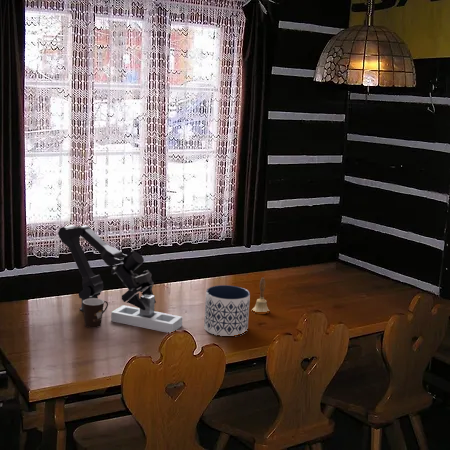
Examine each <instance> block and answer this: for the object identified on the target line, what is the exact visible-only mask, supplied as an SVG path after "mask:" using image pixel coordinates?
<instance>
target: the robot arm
mask: <svg viewBox="0 0 450 450" xmlns="http://www.w3.org/2000/svg"><path fill="white" fill-rule="evenodd" d="M58 229H59V230H58V233H57V234H58V237H59V239H60V241H61V242H62V243H63V245H65V246H67V247H68V249H69V251H70V253H71V255H72V258H73V260H74V262H75V265H76V267H77V269H78V271H79V273H80V276H81V277H82V281H81V285H82V288H83V289H81V291H79V292H78V298H79V299H80V300H81V307H80V308H79V310H80V311H81V312H83V313H84V309H83V301H84V300H85V299H90V298H97V299H99V298H98V297H99V296H100V295H101V294H102V291H103V290H104V288H105V287H104V281H103V280H102V278H101V275H100V274H97V275H96V274H95V273H94V272H93V269H92V267H91V265H90V264H89V261H88V259H87V256H86V254H85V253H84V250H83V247H82V246H81V243H80V241H81V240H80V239H81V238H83V239H84V240H85V242H87V243H88V244H89V245H90V246H91V247H92V248H94V249H95V250H96V251H97V252H98V253H99V254H100V256H101V259H102V261H103V262H104V263H105V264H106V265H107V266H108V267H112V268H111V271H110V272H111V273H110V275H112V276H114V275H115V274H116V276H117V277H118V278H119V279H120V280H121V282H122V283H121V285H122V287H124V286H125V287H126V288H127V290H126V292H125V293H123V294H122V295H121V300H122V302H123V303H127V304H130V305H133V307H135V308H140V309H142V310H145V309H146V308H145V306H144V304H143V303H142V301H141V300H140V294H141V296H142V295H144V294H149V295H154V292H153V286H154V283H155V282H154V281H153V280H152V279H153V278H152V275H153V274H152V273H151V271H150V270H148V269H147V270H144V271H142V274H140V275H139V274H138V273H135V272H134V271H135V270H137V269H138V268H139V267H140V266H141V265H142V264H143V263H144V262H145V259H144V257H143V255H142V254H140V253H139V252H137V251H135V250H130V252H128V254H124V253H123V252H122V251H120V250H119V249H117V248H116V247H114V246H111V245H109V244H108V243H107V242H106V241H104V240H103V239H102V238H101V237H100V236H99V235H97V233H96V232H95V231H94V230H93V229H91V227H90V226H89V225H77V226H76V225H74V224H69V225H65V226H62V227H60V228H58ZM80 237H81V238H80ZM156 303H157V301H156V300H155V304H156Z"/></svg>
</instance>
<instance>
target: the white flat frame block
mask: <svg viewBox="0 0 450 450" xmlns="http://www.w3.org/2000/svg"><path fill="white" fill-rule="evenodd" d="M110 313H111V315H110V317H111V318H110V319H111V320H110V321H111V322H114V323H118V324H122V325H129V326H134V327H136V328H137V327H139V328H144V329H148V330H153V331H157V332H163V333H167V334H171V333H170V332H172V331H175V330H176V331H177V330H179V329H180V328H181V327H182V326H183V316H182V315H180V316H179V315H175V314H171V313H165V312H160V311H155V310H154V316H153V317H151V318H147V317H142V316H140V308H138V307H136V306H131V305H130V306H129V305H126V304H125V305H124V304H122V305H121V306H119V307H117V308H116V309H114V310H113V311H111V312H110ZM168 332H169V333H168Z"/></svg>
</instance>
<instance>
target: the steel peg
mask: <svg viewBox="0 0 450 450" xmlns="http://www.w3.org/2000/svg"><path fill="white" fill-rule="evenodd" d="M155 297H156V296H155V295H154V294H153V295H149V294H144V295H142V294H141V296H139V298H140V300H141V301H142V303H143V304H144V306H145V308H146V309H145V310H142V309H140V316H142V317H147V318H151V317H153V316H154V311H155V305H156V303H155V301H156V298H155Z"/></svg>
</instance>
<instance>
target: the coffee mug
mask: <svg viewBox="0 0 450 450" xmlns="http://www.w3.org/2000/svg"><path fill="white" fill-rule="evenodd" d="M105 304H106V307H105ZM104 307H105V308H104ZM108 307H109V303H108V301H105V300H103V299H101V298H98V299H97V298H90V299H85V300H84V301H83V309H84V312H83V316H84V317H83V318H84V326H85V327H87V328H92V329H93V328H99V327H101V325H102V319H103V315H104V313H105V312H106V311H107V309H108Z"/></svg>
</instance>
